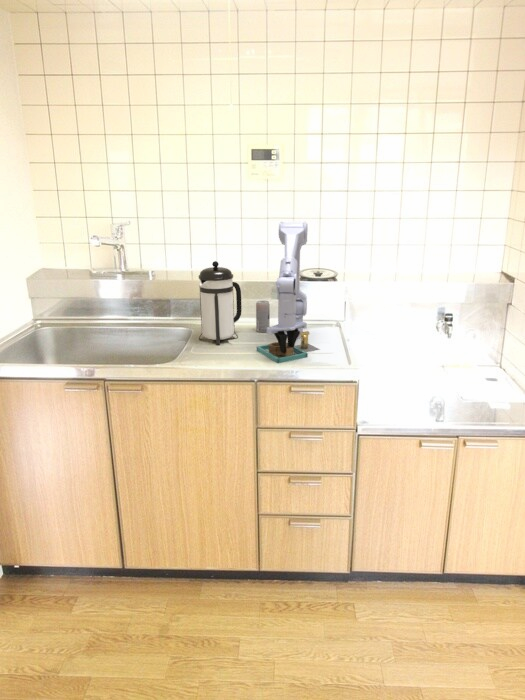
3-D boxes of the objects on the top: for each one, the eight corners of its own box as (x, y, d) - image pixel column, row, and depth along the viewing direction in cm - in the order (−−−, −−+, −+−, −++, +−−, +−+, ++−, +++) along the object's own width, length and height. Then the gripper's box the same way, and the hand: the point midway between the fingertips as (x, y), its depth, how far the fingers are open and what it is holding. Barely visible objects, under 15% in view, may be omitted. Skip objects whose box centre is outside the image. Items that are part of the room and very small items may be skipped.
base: (289, 349, 185) (289, 346, 185) (307, 345, 189) (307, 343, 188) (301, 355, 178) (301, 353, 178) (320, 352, 182) (320, 349, 182)
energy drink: (270, 329, 210) (270, 300, 206) (269, 333, 205) (268, 303, 201) (257, 329, 210) (256, 300, 206) (255, 332, 205) (255, 303, 201)
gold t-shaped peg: (298, 347, 184) (298, 331, 182) (306, 346, 185) (306, 330, 183) (302, 349, 182) (302, 333, 180) (310, 348, 183) (310, 332, 181)
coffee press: (239, 345, 190) (237, 264, 181) (196, 345, 191) (191, 264, 181) (242, 331, 207) (240, 256, 197) (202, 332, 207) (198, 257, 197)
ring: (265, 352, 181) (265, 344, 180) (282, 349, 184) (282, 340, 183) (281, 358, 171) (281, 350, 170) (299, 355, 174) (299, 346, 174)
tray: (256, 353, 182) (256, 346, 181) (284, 347, 187) (284, 341, 186) (277, 366, 169) (277, 359, 169) (307, 359, 175) (307, 353, 174)
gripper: (273, 318, 163) (274, 358, 168) (311, 312, 170) (311, 351, 174) (263, 313, 169) (263, 352, 174) (300, 307, 176) (299, 345, 180)
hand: (286, 351), depth 174 cm, fingers closed on ring, 2 cm apart
